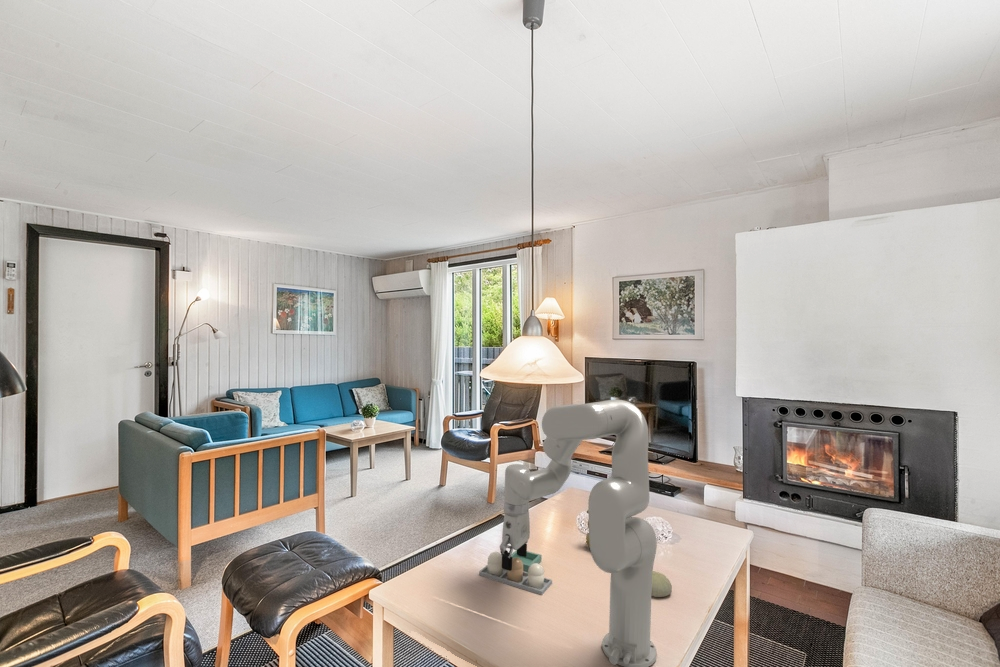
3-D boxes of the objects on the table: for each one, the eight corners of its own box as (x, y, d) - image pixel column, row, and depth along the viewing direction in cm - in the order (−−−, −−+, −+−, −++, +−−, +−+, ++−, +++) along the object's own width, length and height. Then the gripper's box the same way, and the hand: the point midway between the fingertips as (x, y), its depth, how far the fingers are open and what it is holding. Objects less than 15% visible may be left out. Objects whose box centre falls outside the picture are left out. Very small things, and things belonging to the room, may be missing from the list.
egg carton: (541, 596, 137) (542, 591, 137) (478, 576, 148) (479, 571, 148) (552, 584, 144) (552, 579, 144) (491, 566, 154) (491, 561, 154)
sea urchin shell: (652, 596, 135) (642, 567, 141) (641, 605, 141) (631, 576, 146) (680, 592, 138) (669, 563, 143) (668, 600, 143) (657, 572, 149)
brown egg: (518, 584, 142) (519, 563, 142) (504, 580, 145) (504, 559, 145) (525, 577, 147) (526, 556, 147) (511, 573, 149) (512, 553, 149)
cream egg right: (539, 591, 139) (540, 569, 139) (524, 586, 141) (525, 565, 141) (546, 584, 143) (546, 562, 143) (531, 579, 146) (532, 558, 145)
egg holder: (530, 574, 150) (530, 566, 150) (505, 567, 154) (505, 559, 154) (541, 562, 157) (541, 555, 157) (518, 556, 161) (518, 548, 161)
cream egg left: (498, 578, 146) (498, 557, 146) (484, 574, 148) (485, 553, 148) (505, 571, 150) (506, 551, 150) (492, 567, 152) (492, 547, 152)
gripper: (514, 519, 136) (512, 578, 137) (539, 500, 151) (537, 553, 152) (491, 513, 140) (489, 571, 140) (518, 495, 155) (516, 547, 155)
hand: (514, 562), depth 146 cm, fingers open, 9 cm apart
